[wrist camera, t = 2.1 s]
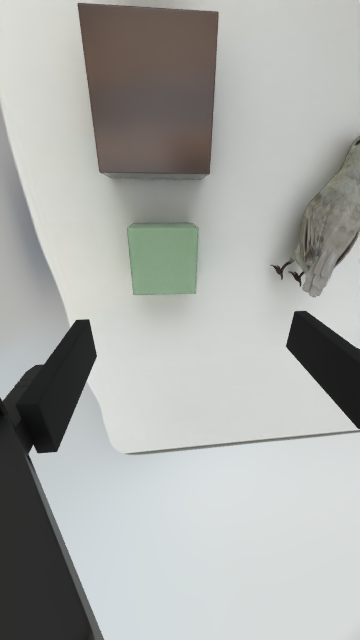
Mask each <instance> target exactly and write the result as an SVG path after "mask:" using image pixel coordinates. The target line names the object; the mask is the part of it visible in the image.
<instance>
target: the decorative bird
mask: <svg viewBox="0 0 360 640" xmlns="http://www.w3.org/2000/svg"><path fill="white" fill-rule="evenodd" d="M353 142H354V143H352V145H351V149H350V151H349V152H348V154H347V157H346V159H345V162H344V164H343V166H342V168H341V170H340V171H339V173H338V174H336V175H335V176H334V177H333V178H332V179H331V180H330V181H329V182H328V184H327V185H326V186H325V187H324V188H323V189H322V190H321V192H320V193H319V194H318V195H317V196H316V197H315V198H314V199H313V200H312V201H311V202H310V204H309V205H308V207H307V209H306V211H305V213H304V216H303V219H302V222H301V226H300V232H299V242H298V246H297V249H296V250H295V252H294V254H293V256H292V257H291V258H290V260H289V262H287V263H286V264H285V265H284V266H283V267H282V268H281V269H280V267H279V266H278V268H277V267H276V266H273V265H271V266H273V267H274V268H275V269H276V272H277V273H278V274H279V275H281V280H282V279H283V274H282V273H283V270H284V268H285V267H286V266H287V265H288V264H291V263H292V262H294V261H295V260H296V262H297V263H298V264H299V266H300V267H301V268H302V270H303V272H302V273H301V274H300V275H299V276H298V274H297V273H296V272H294V273H295V274H294V273H292V272H290V273H292V275H293V276H294V278H295V280H296V281H298V282H299V283H300V286H301V276H302V275H303V274H304V273H305V274H306V281H305V283H304V285H303V290H304V291H306V292H309V295H310V296H312V297H316V296H319V295H320V294H321V292H322V289H323V288H324V287H325V286H326V284H327V281H328V279H329V278H330V276H331V274H332V271H333V269H334V268H335V267H336V266H337V265H338V264H339V263H340V262H341V261H342V260H343V259H344V258H345V256H346V255H347V254H348V253H349V251H350V250H351V248H352V247H353V245H354V243H355V241H356V239H357V237H358V235H359V232H360V136H359V137H357V138H356V139H355V140H354V141H353Z"/></svg>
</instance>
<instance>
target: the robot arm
mask: <svg viewBox="0 0 360 640" xmlns="http://www.w3.org/2000/svg"><path fill="white" fill-rule="evenodd" d="M286 347H287V348H288V350H289V351H290V352H291V353H292V354H293V355H294V356H295V358H296V359H297V360H298V361H299V362H300V363H301V364H302V365H303V367H304V368H305V369H306V370H307V371H308V372H309V373H310V375H311V376H312V377H313V378H314V379H315V380H316V381H317V382H318V384H319V385H320V386H321V387H322V388H323V389H324V390H325V392H326V393H327V394H328V395H329V396H330V397H331V398H332V399H333V401H334V402H335V403H336V404H337V405H338V406H339V407H340V409H341V410H342V411H343V412H344V413H345V414H346V415H347V416H348V418H349V419H350V420H351V421H352V422H353V423H354V424H355V426H356V427H357V428H358V429H360V349H358V348H356V347H354V346H353V345H352V344H350V343H349V342H348V341H346V340H345V339H343V338H342V337H341V336H339V335H338V334H337V333H335V332H334V331H333V330H331V329H330V328H328V327H327V326H326V325H324V324H323V323H322V322H320V321H319V320H318V319H316V318H315V317H313V316H312V315H311V314H309V313H308V312H307V311H295V312H294V316H293V320H292V324H291V328H290V332H289V336H288V340H287V345H286ZM96 357H97V355H96V350H95V345H94V340H93V335H92V331H91V326H90V321H89V319H88V320H76V321H75V323H74V324H73V325H72V327H71V328H70V329H69V331H68V332H67V334H66V335H65V337H64V338H63V339H62V341H61V342H60V343H59V345H58V346H57V348H56V349H55V350H54V352H53V353H52V354H51V356H50V357H49V359H48V360H47V361H46V363H45V364H44V365H35V366H34V367H32V368H31V369H30V370H28V371H27V372H26V373H25V374H24V375H23V377H22V378H21V379H20V382H18V383H17V384H16V385H15V387H14V388H13V389H12V391H11V392H10V393H9V394H8V395H7V397H6V398H5V399H4V400H3V402H2V400H1V398H0V640H104V638H103V636H102V634H101V631H100V629H99V626H98V624H97V621H96V619H95V616H94V614H93V611H92V609H91V607H90V604H89V602H88V599H87V597H86V594H85V592H84V589H83V587H82V584H81V582H80V579H79V577H78V574H77V572H76V570H75V567H74V565H73V562H72V560H71V557H70V555H69V552H68V550H67V547H66V545H65V542H64V540H63V538H62V535H61V533H60V530H59V528H58V525H57V523H56V520H55V518H54V516H53V513H52V510H51V508H50V506H49V503H48V501H47V498H46V496H45V493H44V491H43V488H42V486H41V483H40V481H39V479H38V476H37V474H36V471H35V469H34V466H33V464H32V461H31V459H30V457H29V455H28V453H29V452H30V450H31V448H32V446H33V444H34V447H35V449H36V451H37V453H48V452H57V450H58V448H59V446H60V443H61V441H62V439H63V436H64V434H65V431H66V429H67V427H68V424H69V422H70V419H71V417H72V414H73V412H74V409H75V407H76V405H77V403H78V400H79V398H80V395H81V393H82V390H83V388H84V386H85V383H86V381H87V379H88V376H89V374H90V371H91V369H92V367H93V364H94V362H95V359H96Z"/></svg>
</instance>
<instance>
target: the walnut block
mask: <svg viewBox="0 0 360 640" xmlns="http://www.w3.org/2000/svg"><path fill="white" fill-rule="evenodd" d="M78 11H79V19H80V27H81V34H82V42H83V50H84V57H85V65H86V73H87V80H88V88H89V96H90V103H91V111H92V118H93V126H94V134H95V141H96V149H97V157H98V164H99V172H100V173H102V174H104V175H106V176H108V177H110V178H148V179H202V178H204V177H205V176H207V175H209V174H210V160H211V142H212V123H213V105H214V87H215V69H216V51H217V33H218V12H215V11H199V10H183V9H167V8H151V7H135V6H119V5H103V4H87V3H78Z"/></svg>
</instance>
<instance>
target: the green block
mask: <svg viewBox="0 0 360 640" xmlns="http://www.w3.org/2000/svg"><path fill="white" fill-rule="evenodd" d="M127 231H128V242H129V253H130V264H131V274H132V285H133V294H134V295H154V294H195V293H196V274H197V249H198V227H196V226H195V225H193V224H192V223H133V224H132V225H131V226H129V227H128V228H127Z"/></svg>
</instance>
